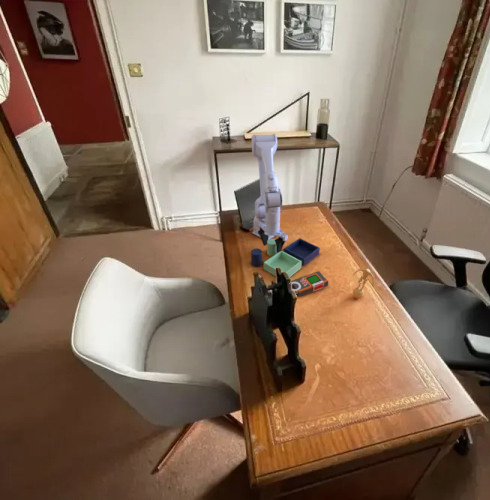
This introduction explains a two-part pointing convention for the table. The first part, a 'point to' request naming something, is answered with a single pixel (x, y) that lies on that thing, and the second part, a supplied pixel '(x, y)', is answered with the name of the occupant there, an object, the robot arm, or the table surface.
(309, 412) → the table surface
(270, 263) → the mint tub
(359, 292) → the figurine
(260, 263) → the navy peg
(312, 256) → the navy tub
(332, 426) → the table surface
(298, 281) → the electronic device
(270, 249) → the mint peg
